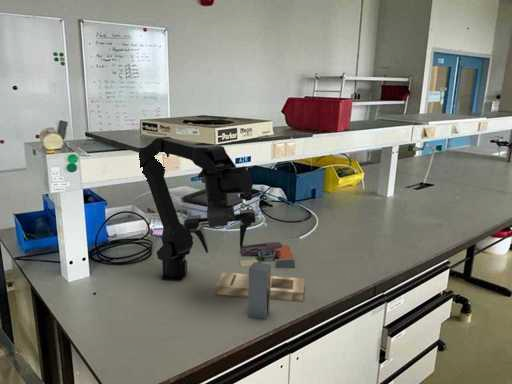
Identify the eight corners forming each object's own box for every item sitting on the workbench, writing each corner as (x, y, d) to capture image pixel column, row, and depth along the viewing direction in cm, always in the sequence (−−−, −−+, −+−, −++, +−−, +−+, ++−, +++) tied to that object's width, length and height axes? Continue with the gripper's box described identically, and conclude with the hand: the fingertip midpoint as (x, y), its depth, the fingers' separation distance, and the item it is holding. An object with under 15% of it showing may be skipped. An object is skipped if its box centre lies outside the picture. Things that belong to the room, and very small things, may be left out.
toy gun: (295, 269, 137) (291, 247, 151) (293, 254, 135) (289, 234, 149) (240, 274, 138) (241, 252, 152) (238, 260, 136) (239, 239, 150)
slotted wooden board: (216, 294, 118) (216, 285, 118) (222, 280, 127) (222, 271, 126) (303, 301, 115) (303, 292, 115) (303, 286, 124) (304, 277, 123)
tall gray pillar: (248, 316, 107) (248, 268, 104) (253, 308, 111) (254, 262, 108) (264, 319, 106) (266, 271, 103) (269, 311, 110) (270, 264, 107)
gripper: (176, 202, 105) (185, 263, 107) (252, 194, 105) (259, 255, 107) (183, 195, 116) (191, 251, 118) (252, 188, 116) (258, 243, 118)
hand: (224, 250), depth 115 cm, fingers open, 9 cm apart
